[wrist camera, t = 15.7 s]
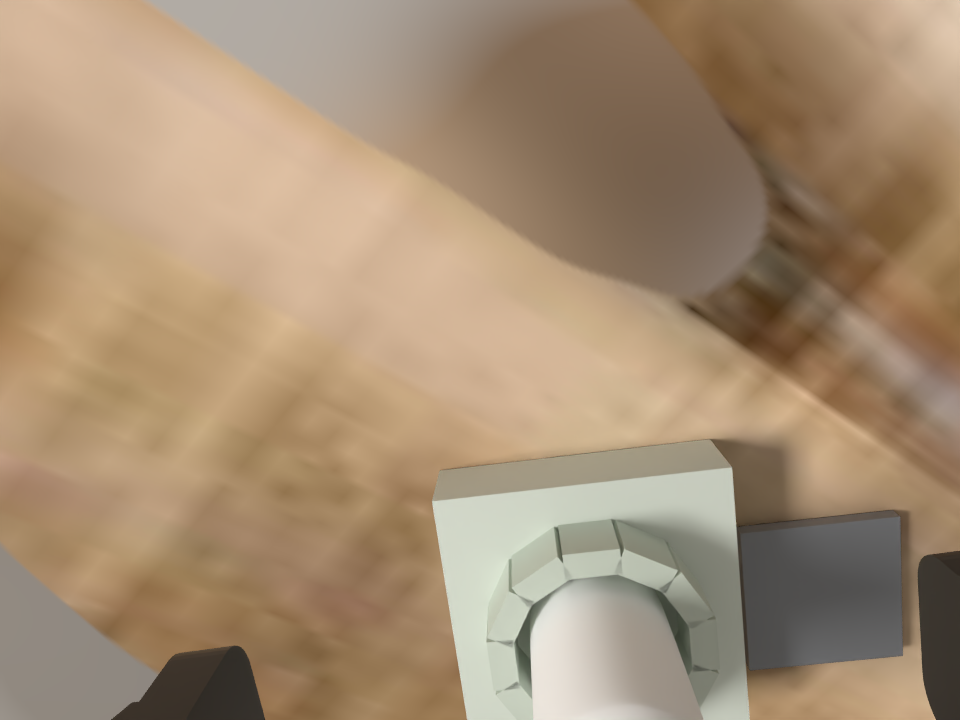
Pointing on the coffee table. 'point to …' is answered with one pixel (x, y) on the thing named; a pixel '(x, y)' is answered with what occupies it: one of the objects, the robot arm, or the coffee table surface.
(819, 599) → the slate coaster
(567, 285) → the coffee table surface
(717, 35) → the coffee table surface
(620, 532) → the pedestal block
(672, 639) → the can
